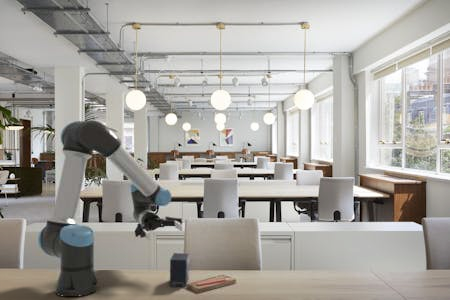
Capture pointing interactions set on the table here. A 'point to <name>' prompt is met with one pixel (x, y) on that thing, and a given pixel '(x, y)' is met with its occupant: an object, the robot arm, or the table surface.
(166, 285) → the table surface
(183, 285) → the small box
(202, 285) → the carpenter pencil
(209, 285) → the wooden board
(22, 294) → the table surface
